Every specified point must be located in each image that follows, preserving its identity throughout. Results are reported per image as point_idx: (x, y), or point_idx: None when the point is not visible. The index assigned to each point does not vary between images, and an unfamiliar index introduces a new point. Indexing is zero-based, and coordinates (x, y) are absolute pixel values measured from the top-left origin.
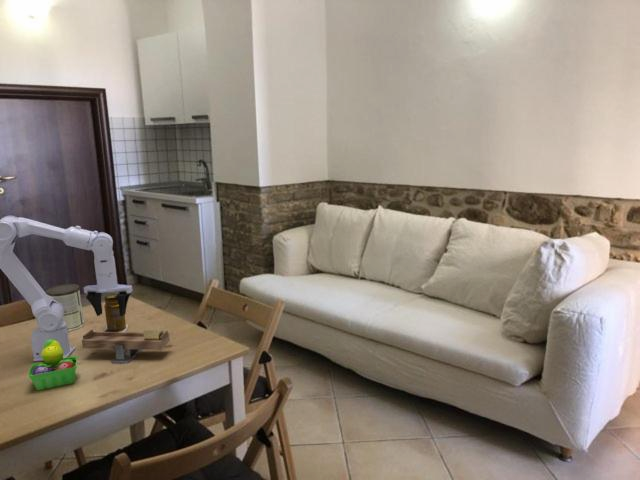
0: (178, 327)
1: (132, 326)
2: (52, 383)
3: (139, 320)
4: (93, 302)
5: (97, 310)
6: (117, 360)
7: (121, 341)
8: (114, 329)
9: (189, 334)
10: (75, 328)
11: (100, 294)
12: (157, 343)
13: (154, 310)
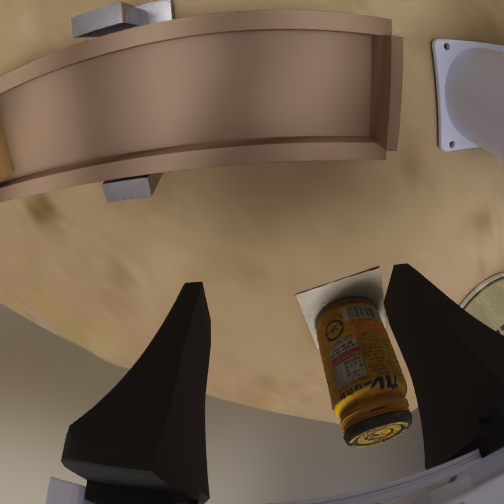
0: (124, 342)
1: (296, 338)
2: None
3: (294, 370)
4: (477, 342)
5: (417, 293)
6: (138, 7)
7: (88, 41)
8: (345, 305)
9: (51, 300)
10: (470, 295)
11: (431, 441)
12: None
13: (281, 410)
